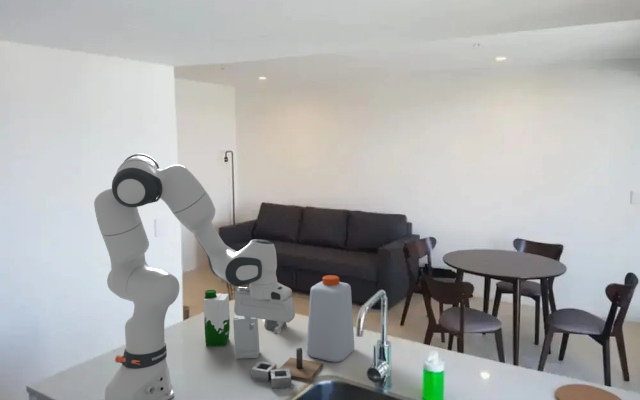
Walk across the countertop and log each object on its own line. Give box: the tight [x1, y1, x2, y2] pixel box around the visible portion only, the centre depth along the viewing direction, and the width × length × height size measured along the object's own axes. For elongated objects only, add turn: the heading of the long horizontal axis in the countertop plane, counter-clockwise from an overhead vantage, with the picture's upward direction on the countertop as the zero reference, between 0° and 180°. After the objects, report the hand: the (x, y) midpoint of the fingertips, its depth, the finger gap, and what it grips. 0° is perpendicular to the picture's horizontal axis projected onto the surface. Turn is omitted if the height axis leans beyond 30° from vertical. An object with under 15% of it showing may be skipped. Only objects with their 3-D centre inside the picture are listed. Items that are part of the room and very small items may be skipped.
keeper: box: [278, 347, 324, 383], centre depth 162 cm, size 12×12×8 cm
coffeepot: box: [264, 319, 287, 332], centre depth 198 cm, size 15×9×18 cm, turn 178°
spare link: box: [270, 368, 292, 390], centre depth 153 cm, size 6×6×4 cm
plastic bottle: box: [305, 274, 355, 363], centre depth 174 cm, size 15×15×28 cm
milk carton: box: [203, 289, 231, 347], centre depth 183 cm, size 9×9×20 cm
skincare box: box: [232, 313, 260, 360], centre depth 173 cm, size 8×6×15 cm
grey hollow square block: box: [250, 360, 277, 383], centre depth 158 cm, size 6×6×4 cm
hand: (264, 331), depth 156 cm, fingers open, 8 cm apart
